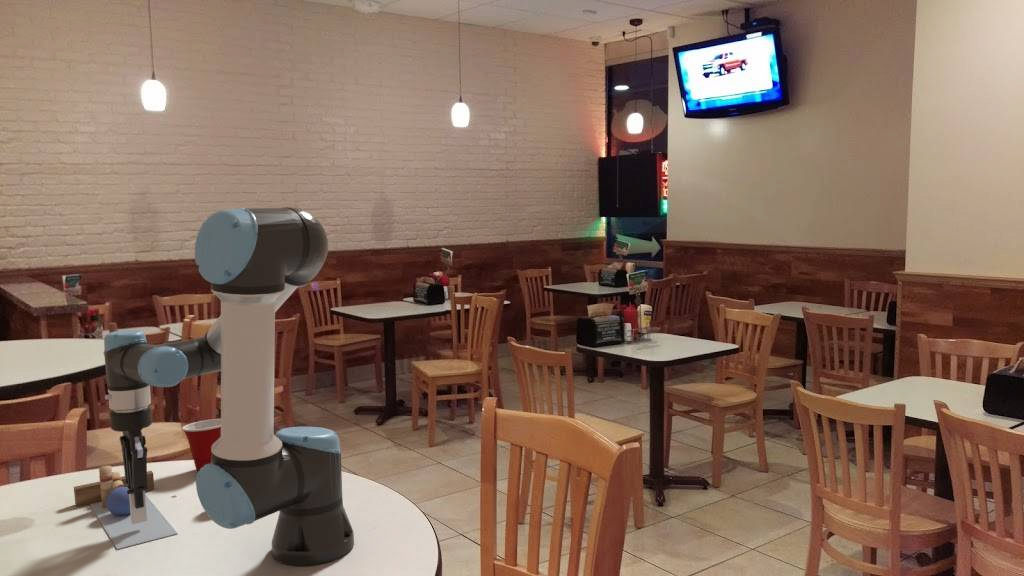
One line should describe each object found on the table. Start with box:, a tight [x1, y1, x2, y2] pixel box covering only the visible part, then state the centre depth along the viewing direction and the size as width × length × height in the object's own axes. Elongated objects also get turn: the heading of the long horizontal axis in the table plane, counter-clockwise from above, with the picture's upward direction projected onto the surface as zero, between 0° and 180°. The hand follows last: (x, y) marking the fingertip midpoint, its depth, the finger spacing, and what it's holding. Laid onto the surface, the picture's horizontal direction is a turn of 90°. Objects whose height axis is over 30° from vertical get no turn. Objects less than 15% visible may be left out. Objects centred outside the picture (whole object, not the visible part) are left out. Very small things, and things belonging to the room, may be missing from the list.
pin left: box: [98, 465, 113, 508], centre depth 171 cm, size 2×2×9 cm
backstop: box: [73, 470, 155, 507], centre depth 178 cm, size 2×16×4 cm, turn 127°
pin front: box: [112, 471, 124, 490], centre depth 173 cm, size 2×2×9 cm
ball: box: [106, 487, 130, 516], centre depth 167 cm, size 6×6×6 cm
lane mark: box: [89, 494, 178, 551], centre depth 165 cm, size 29×11×1 cm, turn 37°
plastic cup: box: [181, 418, 221, 473], centre depth 194 cm, size 11×11×12 cm
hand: (139, 521), depth 159 cm, fingers closed
